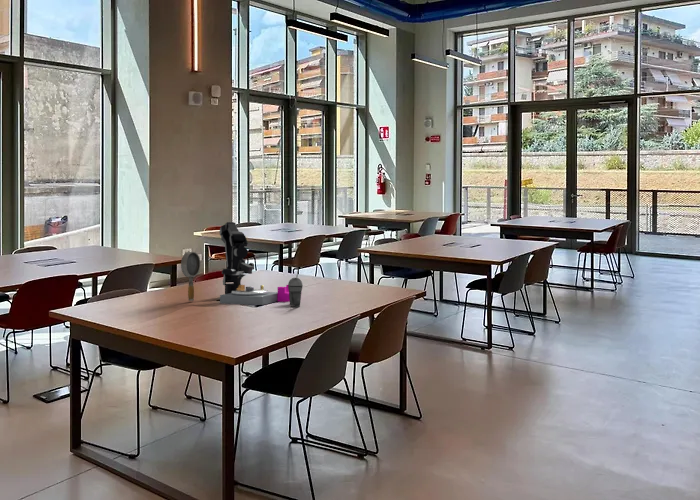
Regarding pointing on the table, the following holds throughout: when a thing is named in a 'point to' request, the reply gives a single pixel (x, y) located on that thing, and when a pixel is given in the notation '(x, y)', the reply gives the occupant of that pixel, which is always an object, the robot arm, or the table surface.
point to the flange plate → (248, 291)
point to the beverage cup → (295, 291)
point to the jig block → (249, 298)
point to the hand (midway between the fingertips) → (237, 288)
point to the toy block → (283, 294)
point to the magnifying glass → (190, 270)
